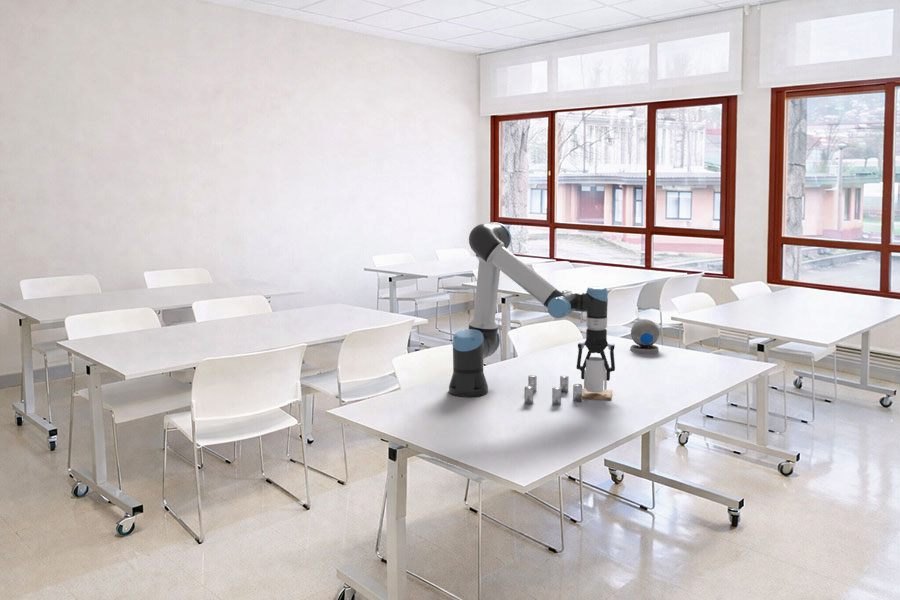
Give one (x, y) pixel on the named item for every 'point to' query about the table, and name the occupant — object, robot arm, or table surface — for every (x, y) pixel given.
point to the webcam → (644, 336)
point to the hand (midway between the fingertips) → (595, 388)
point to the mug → (595, 374)
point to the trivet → (597, 395)
